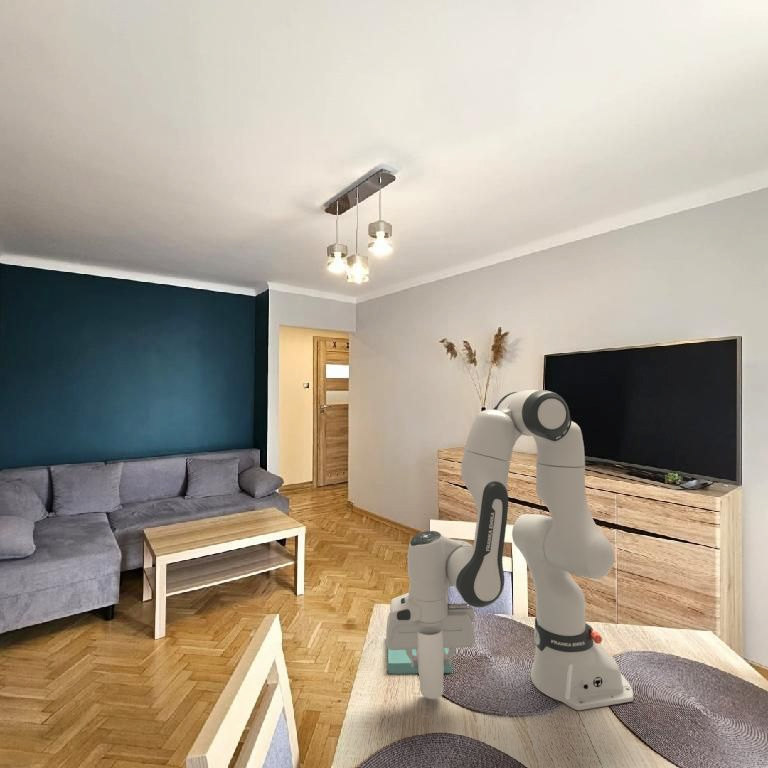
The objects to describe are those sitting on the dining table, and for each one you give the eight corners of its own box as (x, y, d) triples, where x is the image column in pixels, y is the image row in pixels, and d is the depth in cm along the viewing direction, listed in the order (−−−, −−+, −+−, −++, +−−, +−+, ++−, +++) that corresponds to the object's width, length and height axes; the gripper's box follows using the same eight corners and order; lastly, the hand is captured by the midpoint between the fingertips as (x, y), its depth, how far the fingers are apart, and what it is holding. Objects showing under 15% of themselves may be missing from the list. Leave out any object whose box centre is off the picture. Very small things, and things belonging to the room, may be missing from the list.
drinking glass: (445, 704, 96) (442, 636, 96) (415, 701, 97) (412, 634, 98) (447, 683, 103) (444, 620, 103) (419, 681, 104) (416, 618, 104)
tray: (443, 637, 126) (443, 628, 126) (451, 673, 110) (451, 662, 110) (387, 637, 126) (387, 628, 126) (388, 673, 110) (388, 663, 110)
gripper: (471, 596, 103) (473, 654, 103) (384, 599, 103) (387, 658, 103) (476, 610, 97) (479, 672, 97) (384, 613, 97) (387, 676, 97)
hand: (431, 665), depth 100 cm, fingers closed on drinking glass, 6 cm apart
